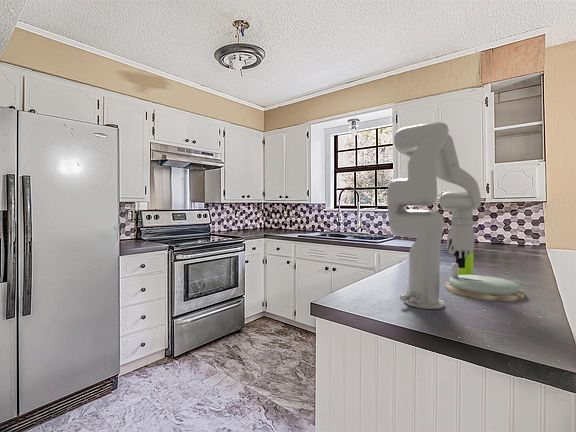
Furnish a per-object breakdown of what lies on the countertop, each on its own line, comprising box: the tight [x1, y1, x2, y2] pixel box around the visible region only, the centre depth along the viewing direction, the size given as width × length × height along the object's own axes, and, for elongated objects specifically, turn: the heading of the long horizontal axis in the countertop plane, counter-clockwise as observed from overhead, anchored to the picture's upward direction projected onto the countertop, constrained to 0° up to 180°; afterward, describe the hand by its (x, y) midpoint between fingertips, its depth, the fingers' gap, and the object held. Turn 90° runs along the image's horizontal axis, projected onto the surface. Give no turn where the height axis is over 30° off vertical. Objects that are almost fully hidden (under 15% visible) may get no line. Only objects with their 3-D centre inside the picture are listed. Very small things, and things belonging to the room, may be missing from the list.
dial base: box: [444, 280, 526, 303], centre depth 125 cm, size 26×26×2 cm
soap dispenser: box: [458, 248, 475, 275], centre depth 150 cm, size 6×7×20 cm
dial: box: [449, 262, 521, 295], centre depth 125 cm, size 23×23×8 cm
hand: (460, 267), depth 133 cm, fingers closed
